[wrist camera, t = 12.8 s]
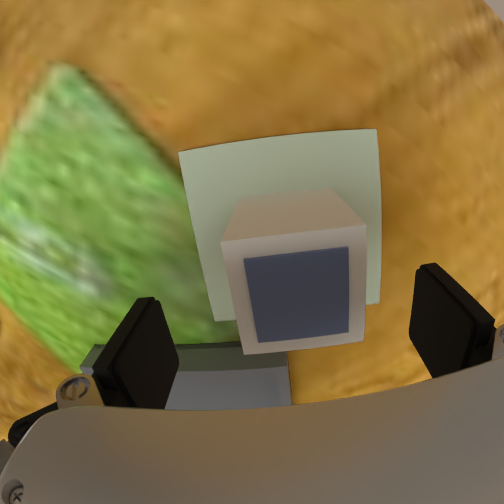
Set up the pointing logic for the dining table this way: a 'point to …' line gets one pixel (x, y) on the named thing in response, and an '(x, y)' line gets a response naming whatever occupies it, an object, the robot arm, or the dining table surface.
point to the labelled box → (296, 270)
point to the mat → (280, 180)
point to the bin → (222, 377)
